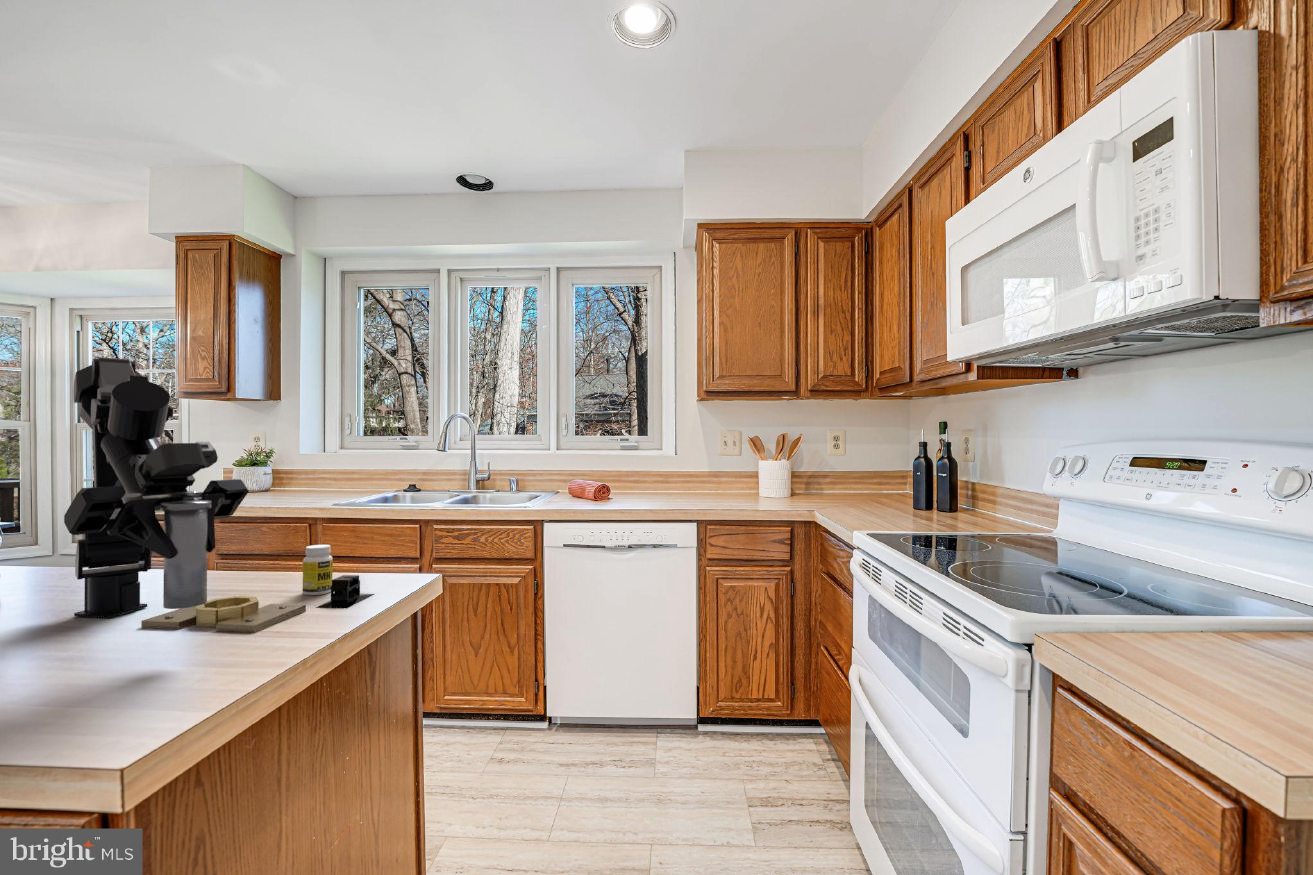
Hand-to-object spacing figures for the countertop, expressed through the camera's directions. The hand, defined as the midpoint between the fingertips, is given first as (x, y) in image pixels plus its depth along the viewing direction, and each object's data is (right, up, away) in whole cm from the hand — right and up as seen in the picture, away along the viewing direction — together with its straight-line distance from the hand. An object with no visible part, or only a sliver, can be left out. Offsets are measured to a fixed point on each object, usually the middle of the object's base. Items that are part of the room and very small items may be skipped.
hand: (192, 553), depth 78 cm
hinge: (-8, -13, +17) cm, 23 cm away
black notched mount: (+5, -14, +28) cm, 32 cm away
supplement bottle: (-3, -14, +34) cm, 37 cm away
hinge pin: (-1, -7, +1) cm, 7 cm away
